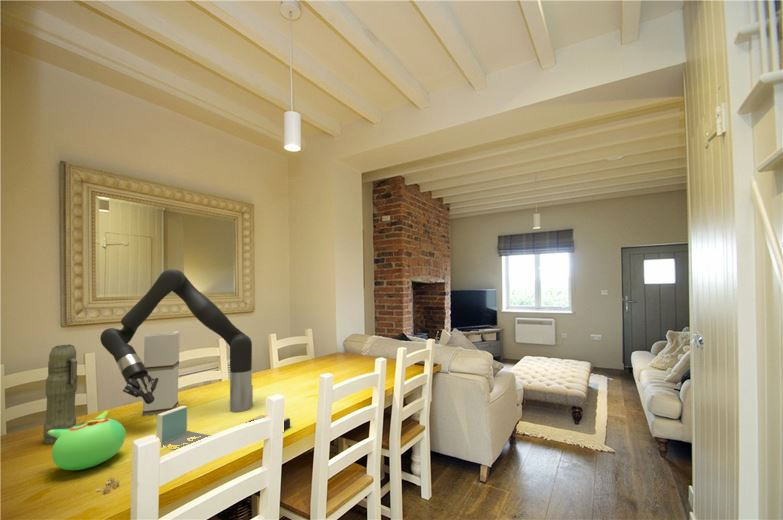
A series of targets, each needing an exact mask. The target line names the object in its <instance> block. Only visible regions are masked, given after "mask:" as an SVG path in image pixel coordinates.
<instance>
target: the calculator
mask: <svg viewBox="0 0 783 520" xmlns="http://www.w3.org/2000/svg"><path fill="white" fill-rule="evenodd" d="M266 416H267V415H264V414H260V415H258V416H256V417H255V418H252V419H251V420H248V421H246V422H245V423H247V422H251V421H254V420H258V419H261V418H265V417H266ZM284 418H285V419H284V432H285V431H287V430H288V429H290V428H291V419H290V418H289V417H284Z"/></svg>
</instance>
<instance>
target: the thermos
mask: <svg viewBox="0 0 783 520" xmlns="http://www.w3.org/2000/svg"><path fill="white" fill-rule="evenodd" d="M47 363H48V366H47V367H48V369H47V370H48V375H47V377H46V380H45V393H44V394H45V396H46V414H45V415H46V416H45V417H46V418H45V422H44V424H43V432H42V433H43V434H42V435H43V445H45V446H51V445H52V444H53V445H54V444H55V442H56V440H57V439H58V438H55V437H53V436H51V435H49V434H48V433H47V432H48V431H50V430H54V429H70V428H72V427H74V426H76V425H77V417H76V415H75V413H76V411H75V409H76V392H77V390H78V373H77V372H78V371H77V370H78V361H77V350H76V348H75V345H73V344H61V345H59V344H58V345H55V346H54V347H52V348H51V350H50V353H49V356H48V362H47ZM53 445H52V446H53Z"/></svg>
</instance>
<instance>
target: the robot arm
mask: <svg viewBox="0 0 783 520" xmlns="http://www.w3.org/2000/svg"><path fill="white" fill-rule="evenodd" d="M187 277H188V276H186V275H185V273H184V272H182V271H181V270H179V269H173V268H172V269H171V268H170V269H166V270H164V271H163V272H161V273H160V275H159V276H158V278H157V279H156V280H155V282H154V283H153V285H152V286H151V287H150V289H149V290H148V291H147V292H146V293H145V295H144V296H143V297H142V298H141V299H140V300H139V301H138V302H137V303H136V304H134V306H133V307H132V308H131V309H130V310H128V311H127V313H126V314H125V315H124V316H122V318H121V320H120V324H121V325H122V326H123V327H122V328H121V329H119V328H115V327H113V328H112V327H111V328H109V327H108V328H107V329H105V330H103V331H102V332H101V334H100V336H99V337H100V339H99V340H100V343H101V345H102V346H103V348H104V349H105V350H106V351H107V352H108V353H109V354H110V355H111V356H112V357H113V358H114V360H115V362H116V364H117V366H118V370H119V371H120V373H121V375H122V377H123V379H124V382H125V383H126V385H125V387H124V388H123V390H122V392H123V393H125V394H127V395H129V396H131V397H135V398H139V397H140V398H142V400H143V399H144V401H145V403H147V404H151V403H153V401H154V396H153V395H152V393H153V391H154V390H155V388H156V385H157V382H158V380H159V379H158V378H155V379H153V378H151V376H149V375H148V372H147V370H146V368H145V366H144V362H143V361H142V359H141V358H140V356H139V355H138V354H137V352H136V350H135V348H134V347H133V345H130V344H129V343H130V341H132V339H133V337H134V336H135V334H136V332H137V330H138V328H139V327H140V326H141V325H142V324H143V323H144V322H145V321H146V320H147V319H148V318H149V317H150V316H151V314H152V313H153V312H154V310H155V308H156V307H157V306H158V305H159V304H160V302H161V301H162V300H163V299H164V298H165V297H167V296H168V295H169V294H171V293H172V292H173V293H174V294H175V295H177V296H178V297H179V298H180V299H181V300H182V301H183V302H184V303H185V305H186V306H187V308H188V309H189V311H190V312H191V314H192V315H193V316H194V317H195V319H197V320H198V321H199V322H200V323H201V324H202V325H204V326H205V327H206V328H207V329H209V330H211V331H212V332H214V333H215V334H217V335H218V336H220V337H221V338H222V339H223V340H224V341H225V342H226V344H228V346H229V373H230V374H229V387H230V388H229V411H230V412H234V413H240V412H245V411H248V410H250V409H251V408H252V406H253V404H254V403H253V402H254V401H253V398H254V396H253V393H254V391H253V388H254V387H253V386H254V385H253V382H252V380H253V372H252V371H253V370H252V369H253V368H252V367H253V343H252V340H251V338H250V337H249V336H248V335H246V334H245V333H244V332H242V331H241V330H240V329H239V328H238V327H237V326H236V325H234V324H233V323H232V322H231V320H230V319H229V318H228V317H227V315H226V314H224V312H223V311H222V310H221V309H220V308H219V307H218V306H217V305H216V304H215V303H214V302H212V301H211V300H210V299H209V298H208V297H207V296H206V295H204V294H203V293H202V292H201V291H199V290H198V289H197V288H196V287H195V286H194V284H193V283H192V282H191V281H190V280H189V279H188V278H187ZM150 382H151V385H152V386H151V388H150Z"/></svg>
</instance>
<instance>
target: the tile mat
mask: <svg viewBox="0 0 783 520" xmlns="http://www.w3.org/2000/svg"><path fill="white" fill-rule="evenodd" d="M194 436H195V437H199V436H201V437H199V438H196V439H193V441H188V440H187V438H190V437H194ZM208 436H211V435H210V434H205V433H199V432H195V431H190V430H187V433H186V434H184V435H181V436H179V437H177V438H174V439H172V440H170V441H168V442H165V443H163V444H161V447H160V448H163V445H164V446H166V447H167V446H168V445H169V444H171V445H180V446H177V447H179V448H181V447H183V446H186V445H188V444H191V443H193V442H196V441H198V440H201V439H203V438H205V437H208ZM190 440H192V439H190ZM183 443H188V444H184V445H183ZM181 444H182V445H181ZM167 448H168V447H167ZM172 448H173V447H172ZM163 449H164V448H163ZM176 449H178V448H176ZM176 449H170V451H175V450H176Z"/></svg>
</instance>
